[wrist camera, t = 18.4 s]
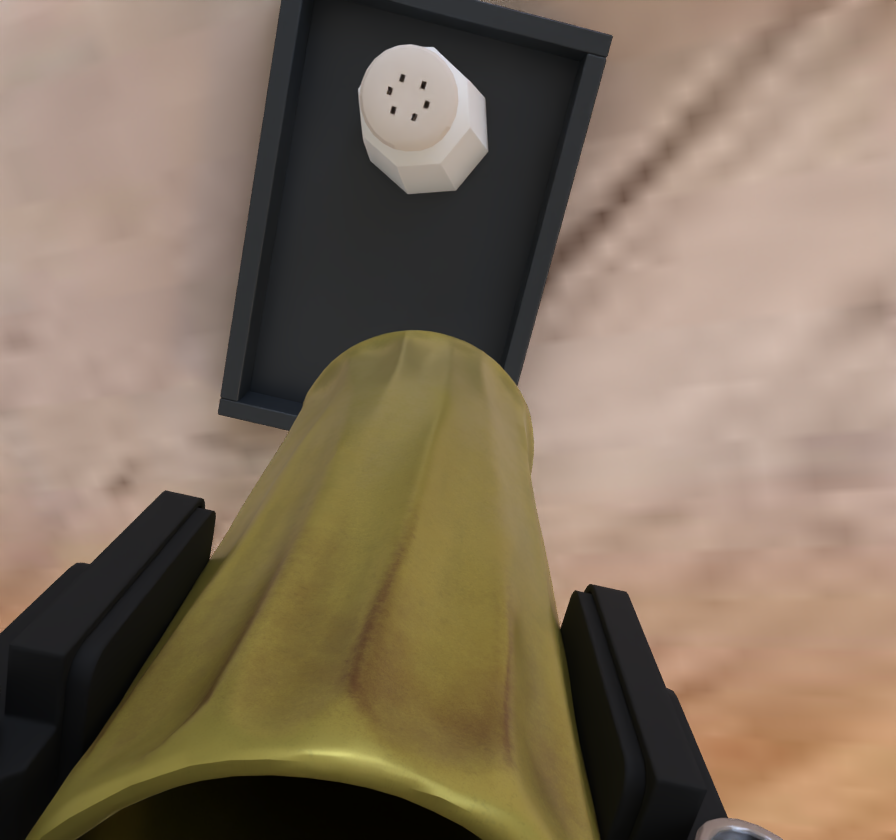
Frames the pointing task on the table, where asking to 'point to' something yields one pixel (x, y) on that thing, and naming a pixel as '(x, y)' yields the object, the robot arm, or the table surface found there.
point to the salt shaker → (421, 119)
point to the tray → (401, 195)
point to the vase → (360, 636)
